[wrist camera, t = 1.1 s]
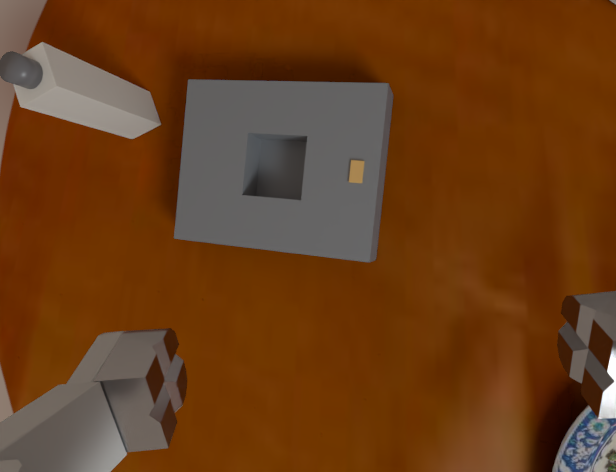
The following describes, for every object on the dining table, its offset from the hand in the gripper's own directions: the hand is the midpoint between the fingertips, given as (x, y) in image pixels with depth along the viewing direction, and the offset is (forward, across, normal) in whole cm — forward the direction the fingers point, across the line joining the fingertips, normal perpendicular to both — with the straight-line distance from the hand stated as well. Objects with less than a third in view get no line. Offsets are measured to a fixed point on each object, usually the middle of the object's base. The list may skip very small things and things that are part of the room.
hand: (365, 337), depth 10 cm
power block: (+40, +5, +9) cm, 41 cm away
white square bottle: (+47, +21, +3) cm, 51 cm away
